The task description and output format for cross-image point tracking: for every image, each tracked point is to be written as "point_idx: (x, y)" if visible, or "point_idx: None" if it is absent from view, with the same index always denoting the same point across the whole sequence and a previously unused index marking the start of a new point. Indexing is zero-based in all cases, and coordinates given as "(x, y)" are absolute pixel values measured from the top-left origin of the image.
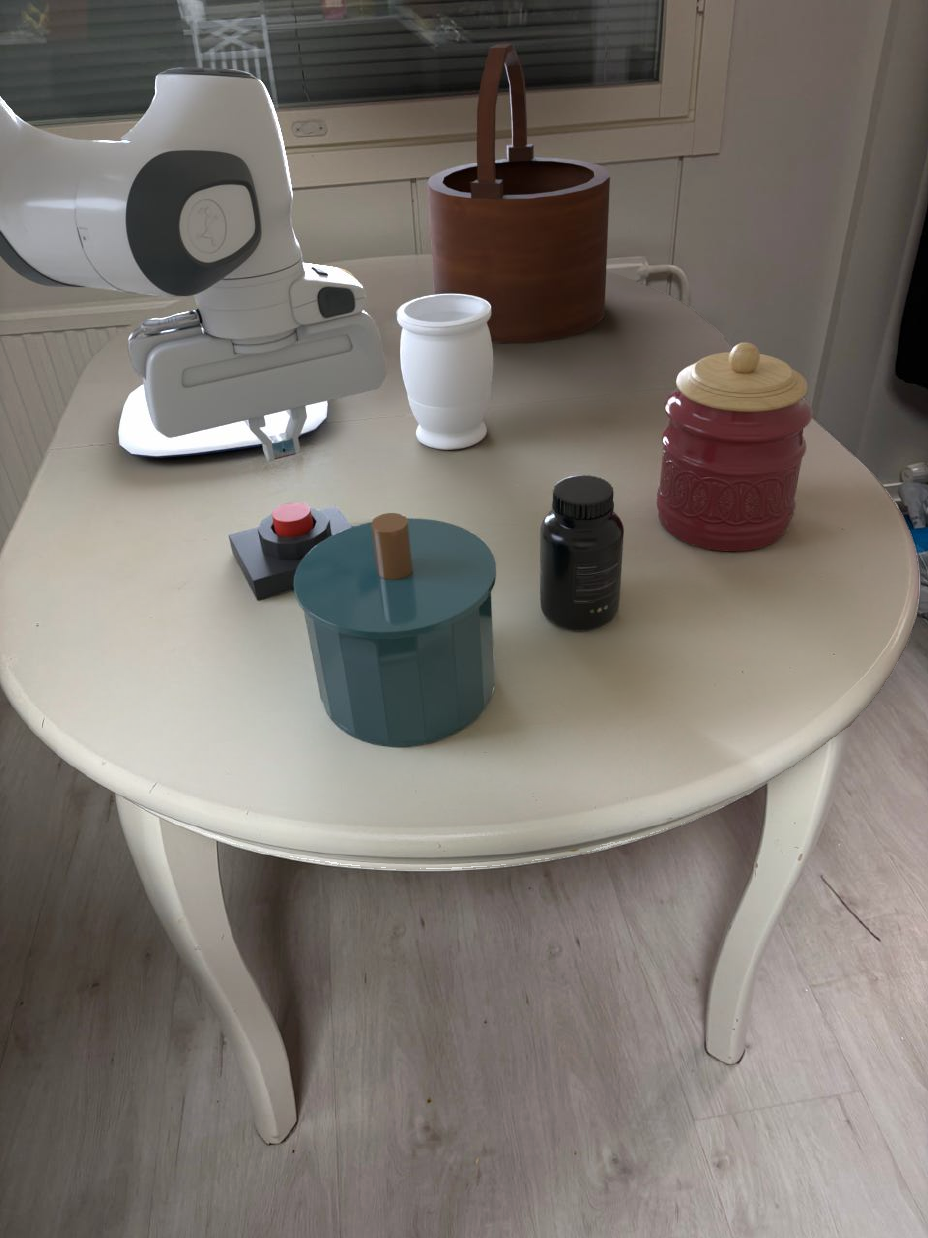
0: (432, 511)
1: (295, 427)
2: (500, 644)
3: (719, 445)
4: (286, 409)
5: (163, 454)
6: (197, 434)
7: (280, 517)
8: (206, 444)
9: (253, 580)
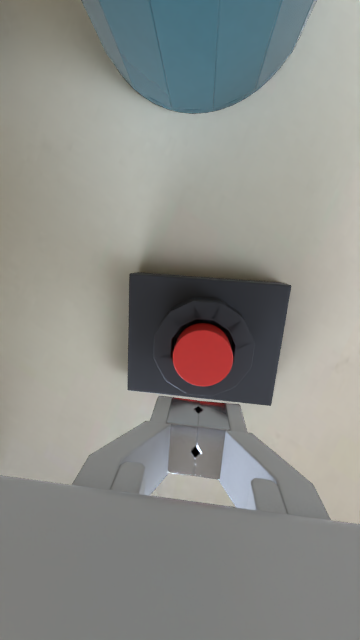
0: (31, 340)
1: (145, 441)
2: (62, 10)
3: None
4: (157, 498)
5: None
6: None
7: (223, 352)
8: None
9: (290, 286)
